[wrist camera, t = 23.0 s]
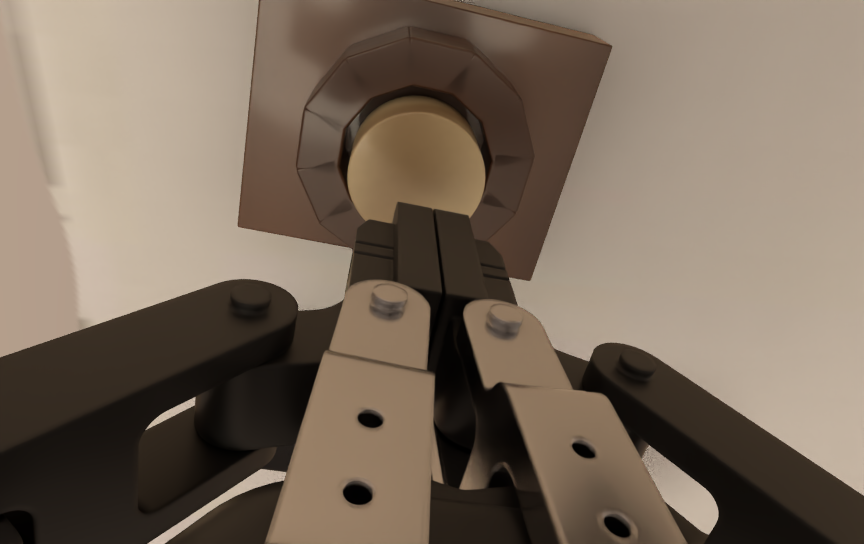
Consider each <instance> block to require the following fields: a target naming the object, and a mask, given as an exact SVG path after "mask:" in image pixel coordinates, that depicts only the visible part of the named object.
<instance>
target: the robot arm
mask: <svg viewBox="0 0 864 544" xmlns="http://www.w3.org/2000/svg"><path fill="white" fill-rule="evenodd" d="M505 269H506V267H505V264H504V260H503V257H502V255H501V254H500V253H499V252H498V251H497V250H496V249H495V248H494V247H493V246H492V245H491V244H490V243H489V242H487V241H482V240H477V239H474V235H473V231H472V227H471V223H470V219H469V216H468V215H465V214H460V213H455V212H450V211H445V210H440V209H433V210H432V208H429V207H424V206H419V205H414V204H409V203H403V202H397V204H396V208H395V212H394V216H393V221H392V223H387V222H381V221H376V220H371V219H369V220H367V221H366V222H365V223H363V224H362V225H361V226H359V227H358V228H357V232H356V238H355V243H354V248H353V253H352V259H351V264H350V269H349V274H348V280H347V285H346V290H345V297H344V300H343V301H341V302H340V303H338V304H336V305H334V306H332V307H328V308H325V309H319V310H305V311H298V304H297V302H296V300H295V298H294V297H293V296H292V295H291V294H290V293H289V292H287V291H286V290H284V289H283V288H281V287H279V286H276V285H274V284H271V283H267V282H263V281H258V280H250V279H238V280H229V281H224V282H221V283H218V284H215V285H212V286H209V287H206V288H203V289H200V290H197V291H194V292H191V293H188V294H185V295H182V296H179V297H176V298H174V299H171V300H168V301H165V302H162V303H159V304H156V305H153V306H150V307H147V308H144V309H141V310H138V311H135V312H132V313H130V314H127V315H124V316H121V317H118V318H115V319H112V320H109V321H106V322H103V323H100V324H97V325H94V326H91V327H88V328H86V329H83V330H80V331H77V332H74V333H71V334H68V335H65V336H62V337H60V338H56V339H53V340H50V341H47V342H44V343H42V344H39V345H36V346H33V347H30V348H27V349H24V350H21V351H18V352H15V353H12V354H9V355H6V356H3V357H1V358H0V544H147V543H149V542H150V541H152V540H153V539H155V538H156V537H158V536H159V535H161V534H162V533H164V532H165V531H167V530H168V529H170V528H171V527H173V526H175V525H176V524H178V523H179V522H181V521H182V520H184V519H185V518H187V517H188V516H190V515H191V514H193V513H194V512H196V511H197V510H199V509H200V508H202V507H203V506H205V505H206V504H208V503H209V502H211V501H212V500H214V499H216V498H217V497H219V496H220V495H222V494H223V493H225V492H226V491H228V490H229V489H231V488H232V487H234V486H235V485H237V484H238V483H240V482H241V481H243V480H244V479H246V478H247V477H249V476H250V475H252V474H253V473H255V472H257V471H258V470H260V469H261V468H263V467H264V466H265V465H266V464H268V463H269V462H270V461H271V459H272V458H273V457H274V455H275V453H276V450H277V447H280V446H289V445H295V447H294V450H293V454H292V457H291V460H290V463H289V467H288V470H287V473H286V476H285V479H284V481H280V482H275V483H271V484H268V485H264V486H261V487H258V488H254V489H252V490H249V491H247V492H245V493H242V494H240V495H237V496H235V497H233V498H232V499H230V500H228V501H226V502H224V503H222V504H221V505H219V506H217V507H216V508H214V509H213V510H211V511H210V512H208V513H207V514H206V515H204V516H203V517H201V518H200V519H199V520H197V521H196V522H194V523H193V524H192V525H190V526H189V527H188V528H186V529H185V530H183V531H182V532H181V533H179V534H178V535H176V536H175V537H174V538H172V539H171V540H169V541H168V542H167V543H165V544H864V496H863V495H862V494H860V493H859V492H857V491H856V490H854V489H853V488H851V487H850V486H848V485H847V484H845V483H844V482H842V481H841V480H839V479H838V478H836V477H835V476H833V475H832V474H830V473H829V472H827V471H826V470H824V469H823V468H821V467H820V466H818V465H817V464H815V463H814V462H812V461H811V460H809V459H808V458H806V457H805V456H803V455H802V454H800V453H799V452H797V451H796V450H794V449H793V448H791V447H790V446H788V445H787V444H785V443H784V442H782V441H781V440H779V439H778V438H776V437H775V436H773V435H772V434H770V433H769V432H767V431H766V430H764V429H763V428H761V427H760V426H758V425H757V424H755V423H754V422H752V421H751V420H749V419H748V418H746V417H745V416H743V415H742V414H740V413H739V412H737V411H736V410H734V409H733V408H731V407H730V406H728V405H727V404H725V403H724V402H722V401H721V400H719V399H718V398H716V397H715V396H713V395H712V394H710V393H709V392H707V391H706V390H704V389H703V388H701V387H700V386H698V385H697V384H695V383H694V382H692V381H691V380H689V379H688V378H686V377H685V376H683V375H682V374H680V373H679V372H677V371H676V370H674V369H673V368H671V367H670V366H668V365H667V364H665V363H664V362H662V361H661V360H659V359H658V358H656V357H654V356H653V355H651V354H649V353H647V352H645V351H643V350H641V349H638V348H636V347H633V346H630V345H626V344H620V343H604V344H601V345H599V346H597V347H596V348H595V349H594V351H593V353H592V356H591V358H590V360H589V362H588V361H585V360H582V359H580V358H577V357H574V356H571V355H569V354H566V353H563V352H561V351H558V350H556V349H554V348H553V346H552V344H551V342H550V340H549V338H548V336H547V334H546V332H545V330H544V328H543V326H542V324H541V323H540V321H539V320H538V319H537V318H536V317H535V316H534V315H532V314H531V313H529V312H528V311H526V310H525V309H523V308H521V307H519V306H518V305H517V302H516V299H515V295H514V292H513V289H512V286H511V283H510V281H509V276H508V273H507V270H505ZM194 397H196V400H195V406H193V407H191V408H189V409H187V410H185V411H183V412H181V413H179V414H177V415H175V416H173V417H171V418H169V419H167V420H165V421H163V422H161V423H159V424H157V425H155V426H153V427H151V428H149V429H147V430H146V428H147V427H148V426H149V424H150V423H151V422H152V421H153V420H154V419H155V418H157V417H158V416H159V415H161V414H162V413H164V412H165V411H167V410H169V409H171V408H173V407H175V406H177V405H180V404H182V403H184V402H186V401H188V400H190V399H192V398H194ZM648 445H650V446H651V447H653V448H654V449H655V450H656V451H658V452H659V453H660V454H662V455H663V456H664V457H666V458H667V459H668V460H669V461H671V462H672V463H673V464H675V465H676V466H677V467H679V468H680V469H681V470H682V471H684V472H685V473H686V474H688V475H689V476H690V477H692V478H693V479H694V480H695V481H697V482H698V483H699V484H701V485H702V486H703V487H704V488H706V489H707V490H708V491H709V492H710V494H711V495H712V496H713V498H714V499H715V501H716V504H717V507H718V511H719V517H718V521H717V523H716V525H715V526H714V528H713V530H712V531H711V533H710V534H709V535H708V534H705V533H703V532H701V531H700V530H699V529H697V528H696V527H695V526H694V525H693V524H691V523H690V522H689V521H688V520H686V519H685V518H684V517H683V516H682V515H680V514H679V513H678V512H677V511H675V510H674V509H673V508H672V507H671V506H669V505H668V504H667V503H666V502H664V500H663V498H662V496H661V494H660V492H659V491H658V489H657V487H656V485H655V483H654V481H653V479H652V478H651V476H650V474H649V472H648V470H647V468H646V467H645V465H644V463H643V461H642V459H641V458H642V457H643V455H644V453H645V451H646V449H647V447H648ZM431 474H432V480H431Z"/></svg>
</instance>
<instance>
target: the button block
mask: <svg viewBox="0 0 864 544" xmlns="http://www.w3.org/2000/svg"><path fill="white" fill-rule="evenodd" d="M611 49H612V46H611V45H610V44H608V43H606V42H605V41H603V40H601V39H599V38H598V37H596V36H594V35H591V34H587V33H583V32H579V31H575V30H571V29H567V28H563V27H559V26H555V25H551V24H547V23H543V22H539V21H535V20H531V19H527V18H523V17H519V16H515V15H511V14H507V13H503V12H499V11H495V10H491V9H487V8H483V7H479V6H475V5H471V4H467V3H463V2H459V1H455V0H259V6H258V17H257V27H256V38H255V48H254V59H253V69H252V80H251V90H250V101H249V111H248V122H247V132H246V143H245V153H244V164H243V174H242V185H241V195H240V206H239V216H238V227H241V228H247V229H252V230H258V231H263V232H268V233H274V234H279V235H285V236H290V237H295V238H301V239H306V240H312V241H317V242H322V243H328V244H333V245H338V246H344V247H349V248H352V249H353V248H354V243H355V238H356V232H357V228H358V227H359V226H361V225H362V224H363V223H365V222H366V221H365V220H364V219H363V218H362V216H361V215H360V214H359V212H358V211H357V209H356V208H355V206H354V204H353V202H352V199H351V196H350V193H349V188H348V180H347V173H348V165H349V160H350V156H351V151H352V146H353V142H354V138H355V136H356V133H357V131H358V129H359V127H360V126H361V124H362V123H363V121H364V120H365V119H366V117H367V116H368V115H369V114H370V113H371V112H372V111H374V110H375V109H376V108H378V107H379V106H380V105H382V104H384V103H386V102H388V101H390V100H393V99H395V98H399V97H403V96H412V95H414V96H427V97H431V98H435V99H438V100H440V101H443V102H445V103H447V104H448V105H450V106H452V107H453V108H454V109H456V110H457V111H458V112H459V113H460V114H461V115H462V116H463V117H464V118H465V119H466V121H467V122H468V123H469V125H470V126H471V128H472V130H473V132H474V135H475V138H476V140H477V143H478V146H479V149H480V152H481V155H482V158H483V161H484V166H485V187H484V192H483V195H482V198H481V201H480V203H479V205H478V207H477V209H476V210H475V212H474V213H473V215H472V216H471V217H470V218H469V219H470V223H471V227H472V231H473V235H474V239H477V240H482V241H487V242H489V243H490V244H491V245H492V246H493V247H494V248H495V249H496V250H497V251H498V252H499V253H500V254H501V255H502V257H503V260H504V264H505V267H506V269H505V270H507V273H508V276H509V277H511V278H516V279H522V280H527V281H530V280H531V278H532V275H533V272H534V269H535V266H536V263H537V260H538V258H539V255H540V252H541V249H542V246H543V243H544V240H545V238H546V235H547V232H548V229H549V226H550V223H551V220H552V218H553V215H554V212H555V209H556V206H557V203H558V200H559V198H560V195H561V192H562V189H563V186H564V183H565V180H566V178H567V175H568V172H569V169H570V166H571V163H572V160H573V158H574V155H575V152H576V149H577V146H578V143H579V140H580V138H581V135H582V132H583V129H584V126H585V123H586V120H587V118H588V115H589V112H590V109H591V106H592V103H593V100H594V98H595V95H596V92H597V89H598V86H599V83H600V80H601V78H602V75H603V72H604V69H605V66H606V63H607V60H608V58H609V55H610V52H611Z"/></svg>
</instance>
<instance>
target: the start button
mask: <svg viewBox="0 0 864 544" xmlns="http://www.w3.org/2000/svg"><path fill="white" fill-rule="evenodd" d="M347 180H348V188H349V193H350V196H351V199H352V202H353V204H354V206H355V208H356V209H357V211H358V212H359V214H360V215H361V216H362V218H363V219H364V220H365V221H367V220H369V219H371V220H376V221H381V222H387V223H392V221H393V216H394V212H395V208H396V204H397V202H403V203H409V204H414V205H419V206H424V207H429V208H432V210H433V209H440V210H445V211H450V212H455V213H460V214H465V215H468V216H469V218H470V217H471V216H472V215H473V213H474V212H475V210H476V209H477V207H478V205H479V203H480V201H481V198H482V195H483V192H484V187H485V166H484V161H483V158H482V155H481V152H480V149H479V146H478V143H477V140H476V138H475V135H474V132H473V130H472V128H471V126H470V125H469V123H468V122H467V121H466V119H465V118H464V117H463V116H462V115H461V114H460V113H459V112H458V111H457V110H456V109H454V108H453V107H452V106H450V105H448V104H447V103H445V102H443V101H440V100H438V99H435V98H431V97H427V96H414V95H412V96H403V97H399V98H395V99H393V100H390V101H388V102H386V103H384V104H382V105H380V106H379V107H378V108H376V109H375V110H374V111H372V112H371V113H370V114H369V115H368V116H367V117H366V119H365V120H364V121H363V123H362V124H361V126H360V127H359V129H358V131H357V133H356V136H355V138H354V142H353V146H352V151H351V156H350V160H349V165H348V173H347Z"/></svg>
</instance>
